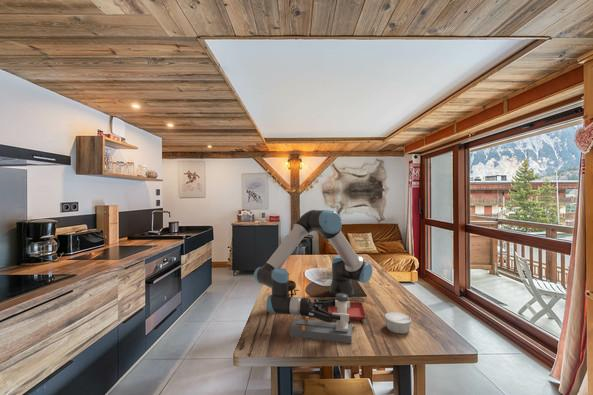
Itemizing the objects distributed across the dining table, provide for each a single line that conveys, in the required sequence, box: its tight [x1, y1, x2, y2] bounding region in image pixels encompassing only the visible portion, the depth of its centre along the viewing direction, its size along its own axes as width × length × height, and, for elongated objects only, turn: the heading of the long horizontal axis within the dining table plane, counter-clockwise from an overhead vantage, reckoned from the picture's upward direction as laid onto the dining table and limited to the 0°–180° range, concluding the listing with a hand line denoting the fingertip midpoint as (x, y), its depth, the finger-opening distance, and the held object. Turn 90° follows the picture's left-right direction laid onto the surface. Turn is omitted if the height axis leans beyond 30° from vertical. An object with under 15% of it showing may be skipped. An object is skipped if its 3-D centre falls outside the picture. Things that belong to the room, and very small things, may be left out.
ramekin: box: [384, 311, 412, 335], centre depth 116 cm, size 11×11×5 cm
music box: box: [288, 272, 300, 297], centre depth 140 cm, size 15×11×20 cm
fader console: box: [289, 316, 353, 344], centre depth 111 cm, size 26×10×4 cm, turn 77°
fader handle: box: [335, 293, 349, 332], centre depth 110 cm, size 5×6×14 cm
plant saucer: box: [327, 301, 367, 322], centre depth 132 cm, size 18×18×3 cm
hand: (349, 310), depth 109 cm, fingers open, 13 cm apart
